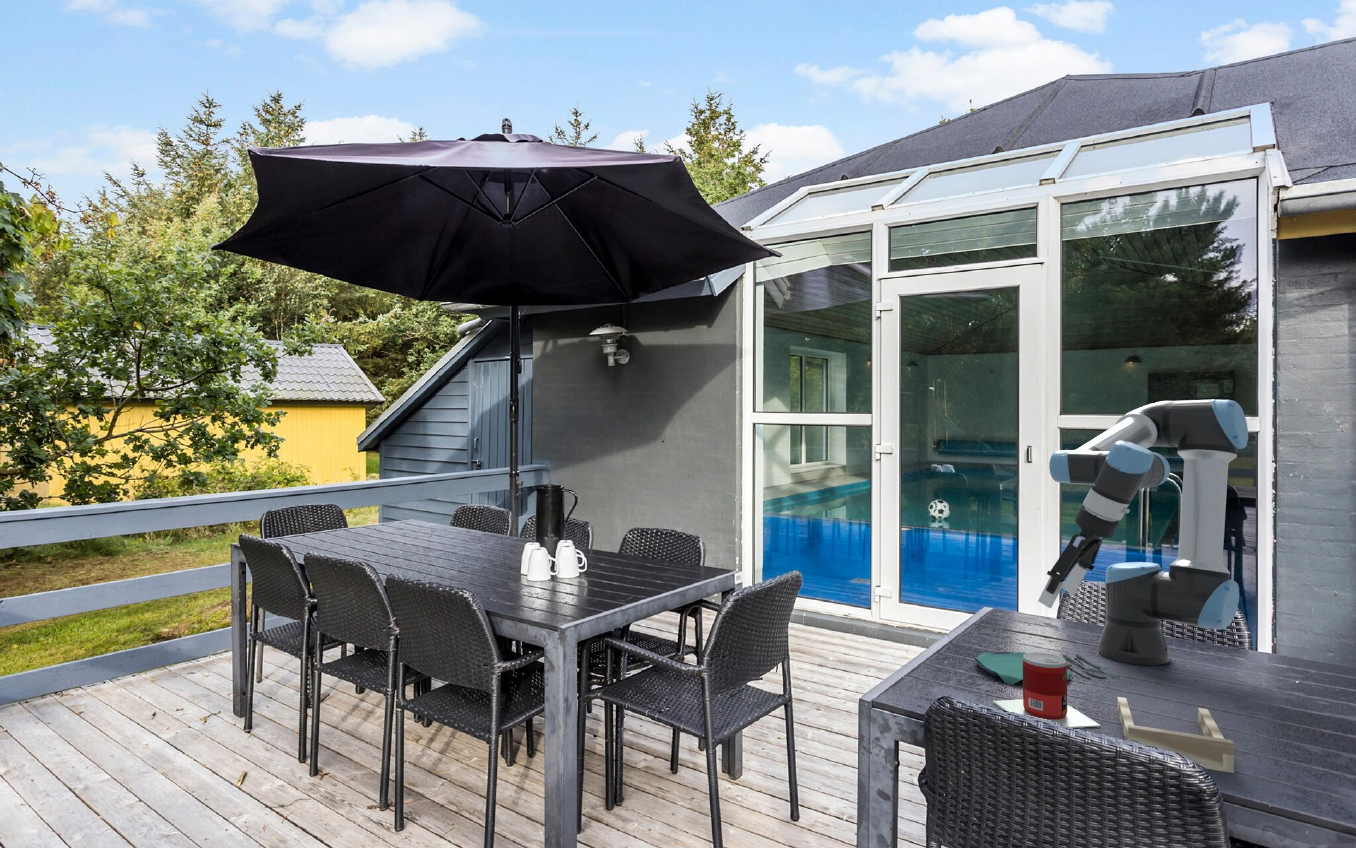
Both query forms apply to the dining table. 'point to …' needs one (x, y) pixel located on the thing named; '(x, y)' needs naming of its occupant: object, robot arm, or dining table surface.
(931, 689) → the dining table surface
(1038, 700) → the canned food
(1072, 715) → the pad
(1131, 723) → the shelf lane
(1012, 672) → the cutlery set
